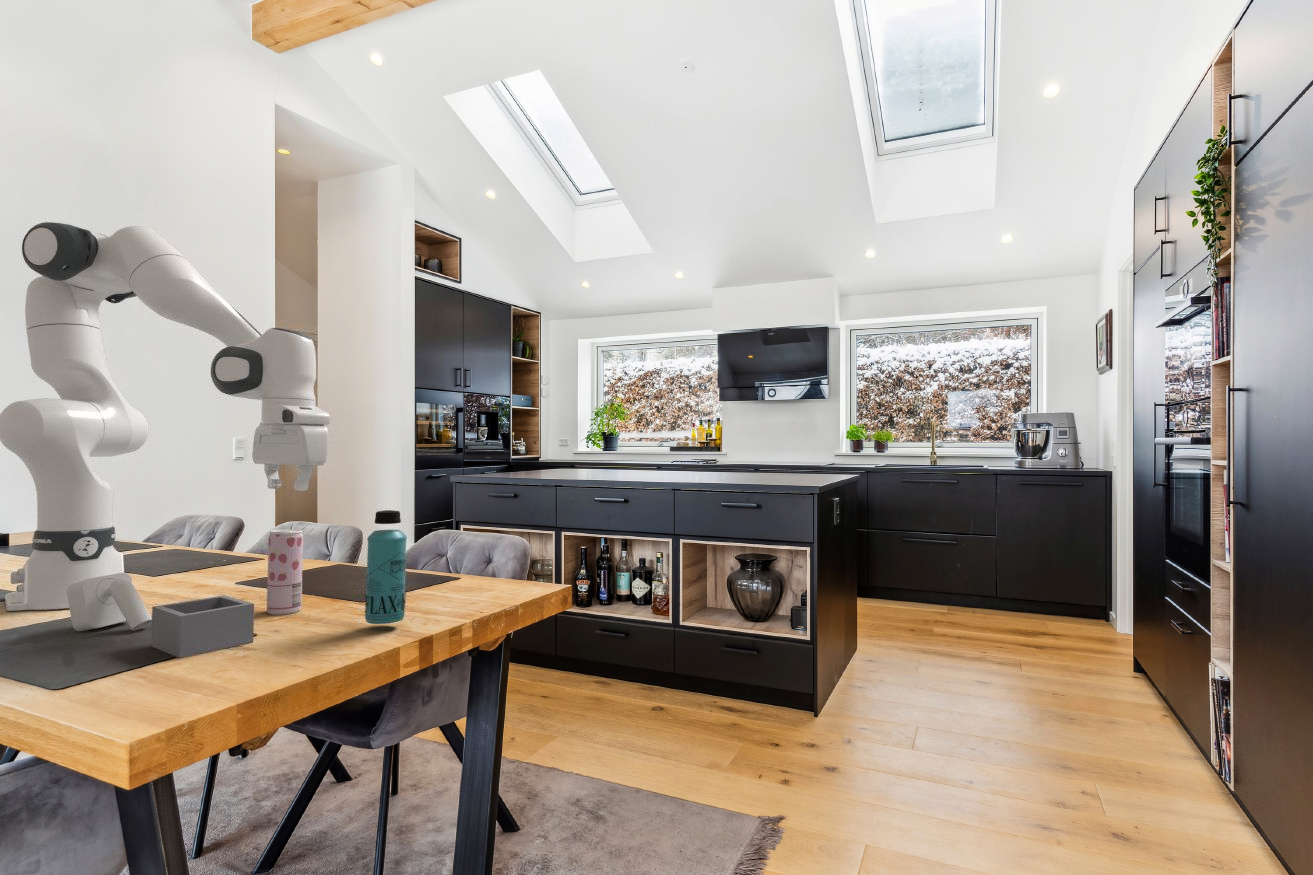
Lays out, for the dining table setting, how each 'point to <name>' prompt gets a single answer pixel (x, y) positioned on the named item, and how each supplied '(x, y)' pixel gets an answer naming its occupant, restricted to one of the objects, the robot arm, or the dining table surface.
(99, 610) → the wall hook
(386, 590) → the beverage bottle
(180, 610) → the open box
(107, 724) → the dining table surface
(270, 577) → the beverage can
